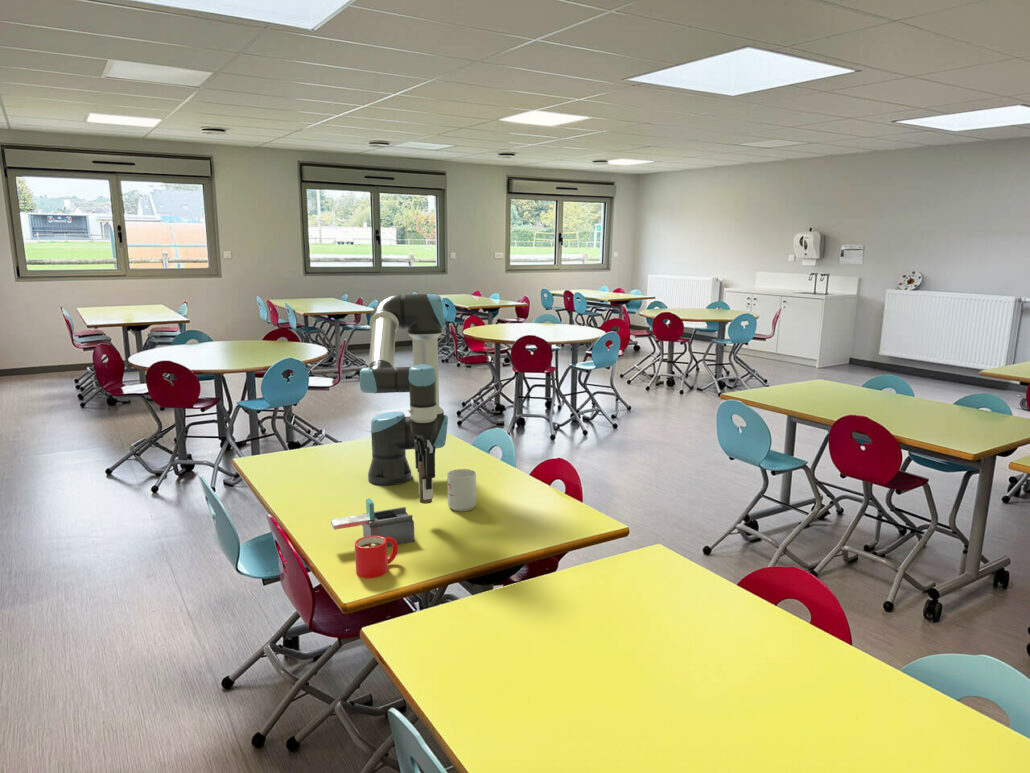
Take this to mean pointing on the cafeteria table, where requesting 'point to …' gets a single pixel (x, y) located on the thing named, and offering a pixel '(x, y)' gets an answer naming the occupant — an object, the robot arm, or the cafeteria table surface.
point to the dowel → (422, 484)
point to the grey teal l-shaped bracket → (355, 518)
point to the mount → (391, 525)
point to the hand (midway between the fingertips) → (425, 496)
